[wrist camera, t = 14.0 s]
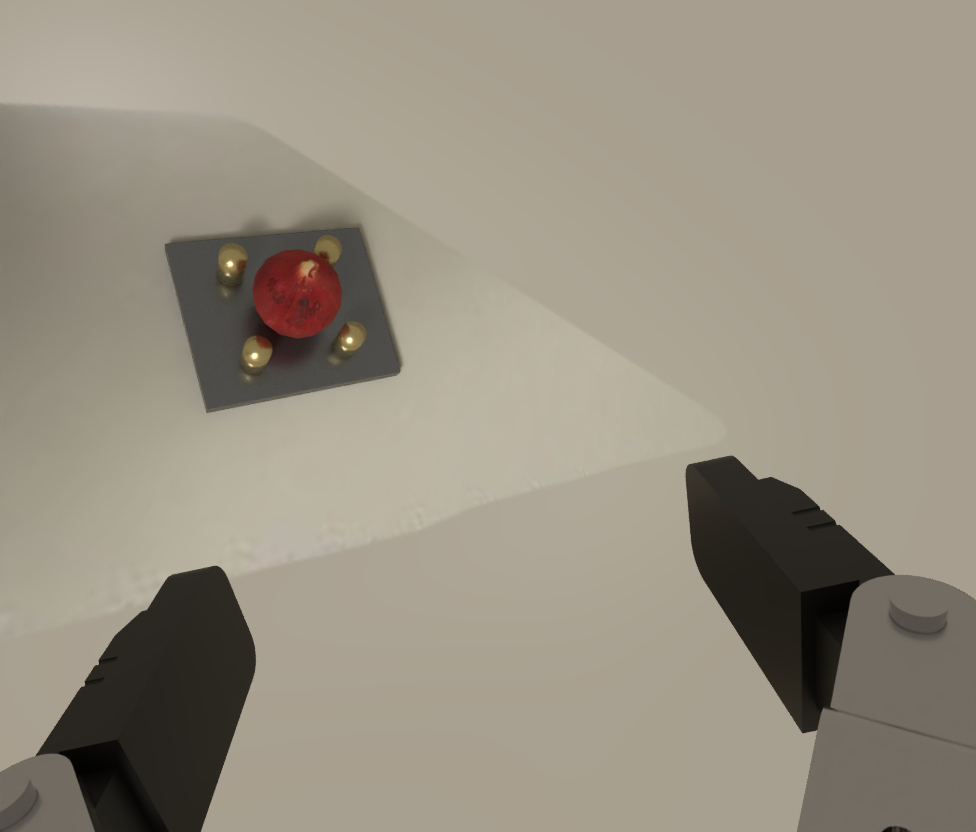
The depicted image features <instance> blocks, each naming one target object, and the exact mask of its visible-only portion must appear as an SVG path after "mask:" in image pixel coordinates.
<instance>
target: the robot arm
mask: <svg viewBox="0 0 976 832" xmlns="http://www.w3.org/2000/svg"><path fill="white" fill-rule="evenodd" d="M686 488H687V499H688V511H689V522H690V534H691V544H692V549H693V554H694V558H695V561H696V564H697V567H698V569H699V572H700V574H701V576H702V578H703V580H704V581H705V583H706V584H707V586H708V587H709V589H710V591H711V592H712V594H713V595H714V597H715V598H716V600H717V601H718V603H719V605H720V606H721V608H722V609H723V611H724V612H725V614H726V615H727V617H728V619H729V620H730V622H731V623H732V625H733V626H734V628H735V629H736V631H737V632H738V634H739V636H740V637H741V639H742V640H743V641H744V643H745V645H746V646H747V648H748V650H749V651H750V652H751V654H752V656H753V657H754V659H755V660H756V662H757V663H758V665H759V667H760V668H761V670H762V671H763V673H764V674H765V676H766V677H767V679H768V681H769V682H770V684H771V685H772V687H773V688H774V690H775V691H776V693H777V695H778V696H779V698H780V699H781V701H782V702H783V704H784V705H785V707H786V709H787V710H788V712H789V713H790V715H791V716H792V717H793V719H794V721H795V722H796V724H797V726H798V727H799V729H800V730H801V732H802V733H806V732H811V731H816V730H817V735H816V740H815V745H814V750H813V755H812V761H811V765H810V770H809V775H808V780H807V785H806V791H805V795H804V800H803V805H802V810H801V815H800V820H799V825H798V830H797V832H976V600H975V599H974V598H972V597H971V596H969V595H968V594H966V593H965V592H963V591H961V590H959V589H957V588H955V587H953V586H950V585H948V584H946V583H943V582H940V581H936V580H933V579H928V578H924V577H919V576H909V575H895V574H894V573H893V572H892V571H890V570H889V569H888V568H887V567H886V566H885V565H884V564H883V563H882V562H880V561H879V560H878V559H877V558H876V557H875V556H874V555H873V554H872V553H870V552H869V551H868V550H867V549H866V548H865V547H864V546H863V545H861V544H860V543H859V542H858V541H857V540H856V539H855V538H854V537H853V536H852V535H850V534H849V533H848V532H847V531H846V530H845V529H844V528H843V527H842V526H840V525H836V522H835V520H834V519H833V518H832V517H830V516H829V515H828V514H827V513H826V512H825V511H824V510H820V508H819V506H818V505H817V504H816V503H815V502H814V501H813V500H811V499H810V498H809V497H808V496H807V495H806V494H805V493H804V492H803V491H801V490H800V489H799V488H796V487H794V486H791V485H789V484H787V483H784V482H782V481H779V480H777V479H775V478H773V477H769V478H764V479H760V480H758V479H757V478H756V477H755V476H754V475H753V474H752V473H751V472H750V471H749V470H748V469H747V468H746V467H745V466H744V465H743V464H742V463H741V462H740V461H739V460H738V459H737V458H735V457H734V456H726V457H722V458H717V459H712V460H708V461H703V462H698V463H693V464H689V465H688V466H687V468H686ZM255 666H256V654H255V646H254V642H253V638H252V635H251V633H250V631H249V628H248V626H247V623H246V621H245V619H244V616H243V614H242V611H241V609H240V607H239V604H238V602H237V599H236V597H235V595H234V592H233V590H232V587H231V585H230V583H229V580H228V578H227V576H226V574H225V572H224V571H223V570H222V569H221V568H220V567H218V566H211V567H206V568H202V569H197V570H192V571H188V572H183V573H178V574H173V575H171V576H169V577H168V578H167V579H166V581H165V582H164V584H163V585H162V587H161V589H160V590H159V592H158V593H157V595H156V596H155V598H154V600H153V601H152V603H151V605H150V606H149V608H148V609H147V610H146V611H142V612H141V613H139V614H138V615H137V616H136V617H135V618H134V619H133V620H132V621H131V622H129V623H128V624H127V625H126V626H125V627H124V628H123V629H122V630H121V631H120V632H118V633H117V634H116V635H115V636H114V638H113V639H112V641H111V643H110V644H109V646H108V647H107V648H106V650H105V652H104V653H103V655H102V656H101V658H100V659H99V665H96V666H95V667H94V668H93V670H92V671H91V673H90V674H89V676H88V677H87V679H86V681H85V686H84V687H81V688H80V689H79V691H78V692H77V694H76V695H75V697H74V698H73V700H72V701H71V703H70V705H69V706H68V708H67V709H66V711H65V712H64V714H63V715H62V717H61V718H60V720H59V721H58V723H57V724H56V726H55V727H54V729H53V730H52V732H51V733H50V735H49V736H48V738H47V739H46V741H45V742H44V744H43V746H42V747H41V748H40V750H39V752H38V753H37V754H36V756H35V757H31V758H29V759H26V760H23V761H21V762H19V763H17V764H15V765H12V766H11V767H9V768H7V769H5V770H3V771H1V772H0V832H201V829H202V826H203V823H204V820H205V817H206V815H207V812H208V808H209V805H210V803H211V800H212V797H213V794H214V791H215V788H216V785H217V782H218V779H219V776H220V774H221V770H222V768H223V765H224V762H225V759H226V756H227V753H228V750H229V747H230V744H231V741H232V738H233V735H234V733H235V730H236V726H237V723H238V721H239V718H240V715H241V712H242V709H243V706H244V703H245V700H246V697H247V694H248V691H249V689H250V685H251V682H252V679H253V676H254V673H255Z"/></svg>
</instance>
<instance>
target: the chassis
mask: <svg viewBox="0 0 976 832" xmlns="http://www.w3.org/2000/svg"><path fill="white" fill-rule="evenodd" d="M294 249H301V250H305V251H309V252H312V253H315V254H317V255H318V256H320V257H321V258H323V259H325V260H326V261H328V263H329V264H330V265H331V266H332V267H333V269H334V270H335V271H336V272H337V274H338V277H339V281H340V285H341V289H342V296H341V307H340V309H339V311H338V313H337V315H336V316H335V318H334V320H333V321H332V323H331V324H330V325H329V326H328V327H326V328H325V329H323V330H322V331H321V332H319V333H318V334H316V335H314V336H309V337H304V338H298V339H297V338H293V337H289V336H284V335H280V334H278V333H277V332H276V331H274V330H273V329H272V328H270V327H269V326H268V325H266V324H265V323H264V321H263V320H262V318H261V317H260V315H259V314H258V312H257V311H256V309H255V304H254V298H253V292H252V289H253V283H254V278H255V275H256V273H257V271H258V270H259V268H260V267H261V266H262V264H263V263H264V262H265V260H266V259H268V258H269V257H271V256H273V255H275V254H277V253H279V252H281V251H283V250H294ZM165 252H166V256H167V260H168V263H169V267H170V271H171V275H172V279H173V283H174V287H175V291H176V295H177V299H178V303H179V306H180V310H181V314H182V318H183V322H184V326H185V330H186V334H187V338H188V342H189V346H190V350H191V353H192V357H193V361H194V365H195V369H196V373H197V377H198V381H199V385H200V389H201V393H202V396H203V400H204V404H205V408H206V412H207V413H209V412H214V411H219V410H224V409H229V408H234V407H239V406H244V405H249V404H254V403H259V402H265V401H270V400H275V399H280V398H285V397H290V396H295V395H300V394H305V393H310V392H315V391H320V390H325V389H330V388H335V387H341V386H346V385H351V384H356V383H361V382H366V381H371V380H376V379H381V378H386V377H391V376H396V375H398V374H399V373H400V368H399V365H398V361H397V358H396V354H395V351H394V347H393V344H392V341H391V337H390V334H389V330H388V327H387V323H386V320H385V316H384V313H383V309H382V306H381V303H380V299H379V296H378V292H377V289H376V285H375V282H374V278H373V275H372V272H371V268H370V265H369V261H368V258H367V254H366V251H365V247H364V244H363V240H362V237H361V234H360V230H359V228H348V229H336V230H324V231H312V232H301V233H289V234H277V235H265V236H253V237H241V238H229V239H217V240H205V241H193V242H181V243H169V244H165Z"/></svg>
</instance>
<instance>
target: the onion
mask: <svg viewBox="0 0 976 832" xmlns="http://www.w3.org/2000/svg"><path fill="white" fill-rule="evenodd" d="M252 292H253V298H254V304H255V309H256V311H257V312H258V314H259V315H260V317H261V318H262V320H263V321H264V323H265V324H266V325H268V326H269V327H270V328H272V329H273V330H274V331H276V332H277V333H278V334H280V335H284V336H289V337H293V338H297V339H298V338H304V337H309V336H314V335H316V334H318V333H319V332H321V331H322V330H323V329H325V328H326V327H328V326H329V325H330V324H331V323H332V321H333V320H334V318H335V316H336V315H337V313H338V311H339V309H340V307H341V296H342V289H341V285H340V281H339V277H338V274H337V272H336V271H335V270H334V269H333V267H332V266H331V265H330V264H329V263H328V261H326V260H325V259H323V258H321V257H320V256H318V255H317V254H315V253H312V252H309V251H305V250H301V249H294V250H283V251H281V252H279V253H277V254H275V255H273V256H271V257H269V258H268V259H266V260H265V262H264V263H263V264H262V266H261V267H260V268H259V270H258V271H257V273H256V275H255V278H254V283H253V289H252Z"/></svg>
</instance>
